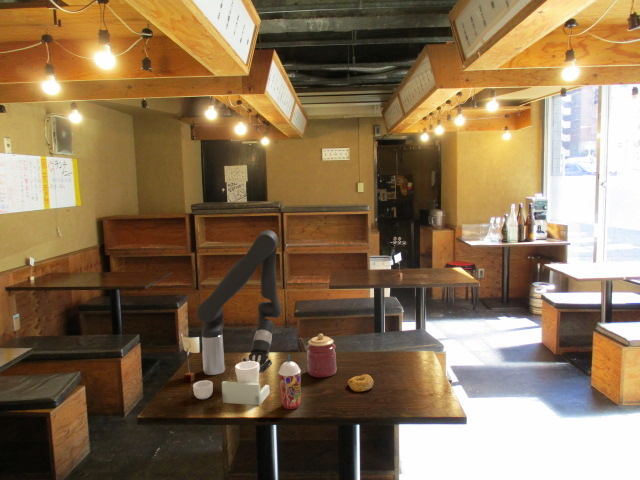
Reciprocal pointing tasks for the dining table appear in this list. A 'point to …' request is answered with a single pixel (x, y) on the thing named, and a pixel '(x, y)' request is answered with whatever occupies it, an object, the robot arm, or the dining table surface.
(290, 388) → the smoothie
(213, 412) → the dining table surface
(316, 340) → the canister
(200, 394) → the teacup
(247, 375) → the foam cup
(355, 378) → the bagel
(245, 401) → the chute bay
